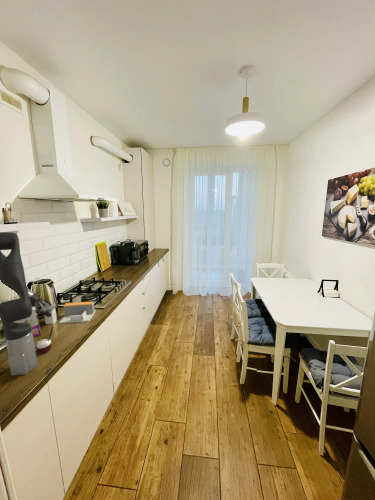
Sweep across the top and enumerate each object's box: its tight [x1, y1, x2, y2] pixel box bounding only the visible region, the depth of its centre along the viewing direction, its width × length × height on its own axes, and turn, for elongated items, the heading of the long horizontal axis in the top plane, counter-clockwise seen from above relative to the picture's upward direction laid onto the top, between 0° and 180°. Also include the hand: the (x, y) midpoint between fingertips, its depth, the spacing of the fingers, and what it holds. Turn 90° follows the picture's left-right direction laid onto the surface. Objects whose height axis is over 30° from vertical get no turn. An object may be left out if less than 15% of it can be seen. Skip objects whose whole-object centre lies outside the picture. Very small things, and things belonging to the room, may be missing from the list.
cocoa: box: [35, 326, 54, 354], centre depth 105 cm, size 10×6×12 cm, turn 98°
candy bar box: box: [14, 307, 42, 338], centre depth 116 cm, size 11×5×16 cm, turn 129°
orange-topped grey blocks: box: [58, 301, 97, 325], centre depth 138 cm, size 14×18×8 cm
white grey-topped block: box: [44, 305, 58, 325], centre depth 132 cm, size 4×4×10 cm
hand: (52, 313), depth 132 cm, fingers open, 4 cm apart
